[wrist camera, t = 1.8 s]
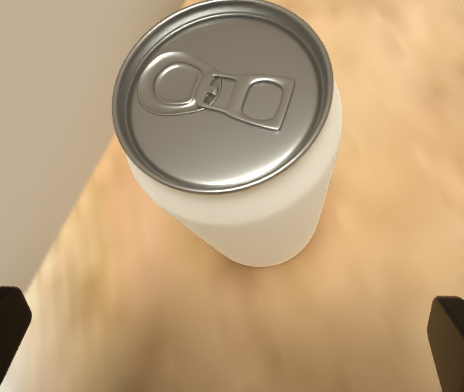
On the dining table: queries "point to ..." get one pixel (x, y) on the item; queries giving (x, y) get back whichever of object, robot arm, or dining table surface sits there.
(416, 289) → the dining table surface
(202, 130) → the can
